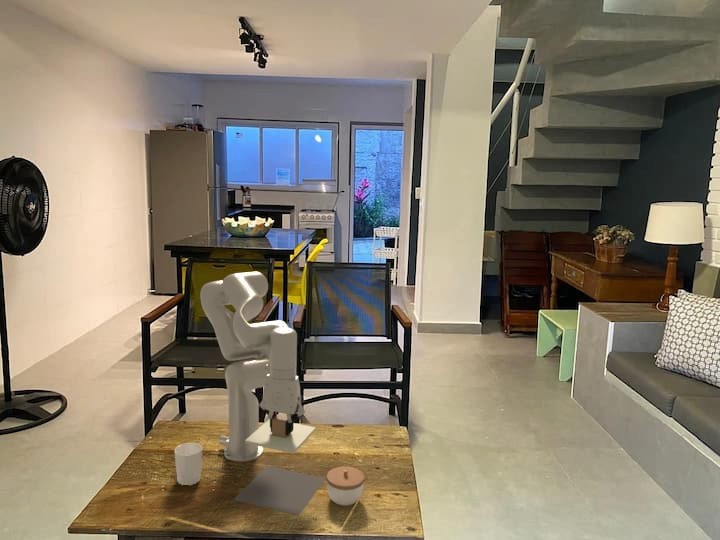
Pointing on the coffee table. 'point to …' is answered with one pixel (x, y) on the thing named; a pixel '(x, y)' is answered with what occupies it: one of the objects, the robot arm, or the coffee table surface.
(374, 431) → the coffee table surface
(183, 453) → the white cup
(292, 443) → the lid sheet
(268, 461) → the coffee table surface
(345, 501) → the lidded jar
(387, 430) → the coffee table surface
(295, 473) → the mat
